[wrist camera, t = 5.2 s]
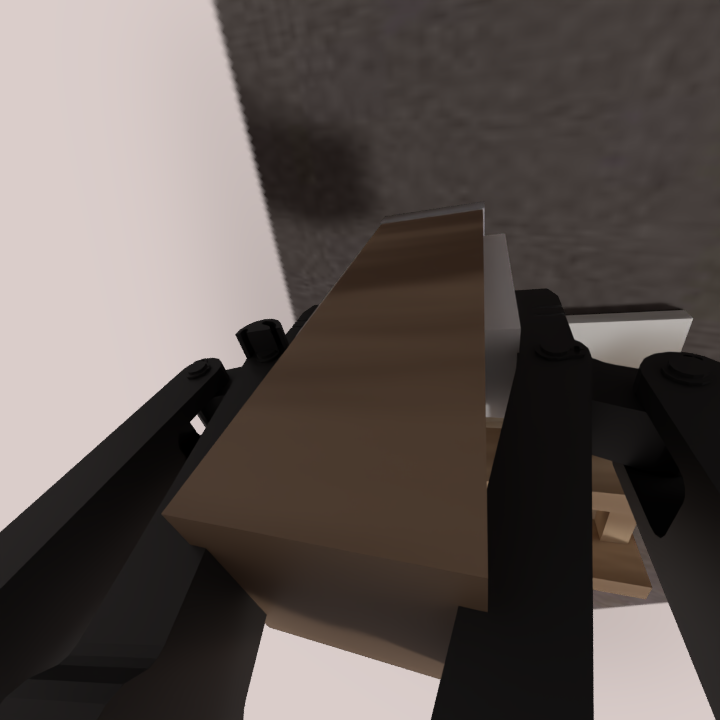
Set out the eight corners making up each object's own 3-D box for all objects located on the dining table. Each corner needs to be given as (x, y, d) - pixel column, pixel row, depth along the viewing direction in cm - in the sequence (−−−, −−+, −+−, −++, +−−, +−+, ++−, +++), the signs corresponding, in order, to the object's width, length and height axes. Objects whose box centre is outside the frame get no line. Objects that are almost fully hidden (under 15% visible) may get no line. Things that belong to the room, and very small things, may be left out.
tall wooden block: (385, 216, 15) (156, 511, 4) (484, 201, 14) (494, 577, 3) (398, 300, 17) (267, 627, 7) (484, 294, 16) (490, 695, 5)
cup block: (432, 321, 24) (414, 411, 17) (684, 310, 19) (801, 425, 12) (449, 494, 35) (442, 592, 28) (613, 513, 30) (654, 636, 23)
